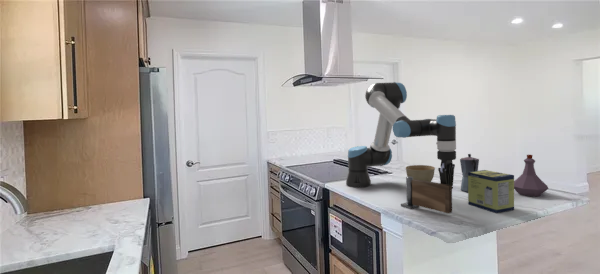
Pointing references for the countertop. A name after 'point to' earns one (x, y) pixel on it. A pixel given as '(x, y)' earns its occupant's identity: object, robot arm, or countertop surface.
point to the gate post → (409, 194)
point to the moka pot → (467, 169)
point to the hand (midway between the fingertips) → (447, 203)
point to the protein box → (491, 190)
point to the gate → (432, 195)
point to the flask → (529, 180)
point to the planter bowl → (421, 172)
